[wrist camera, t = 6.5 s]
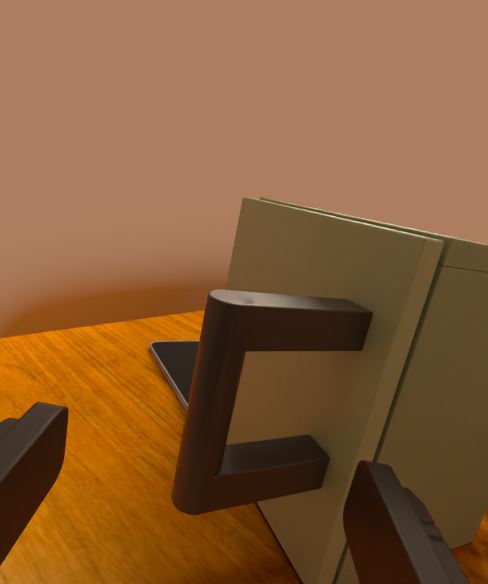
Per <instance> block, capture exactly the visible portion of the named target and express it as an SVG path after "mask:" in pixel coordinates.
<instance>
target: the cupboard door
mask: <svg viewBox="0 0 488 584" xmlns="http://www.w3.org/2000/svg"><path fill="white" fill-rule="evenodd" d="M443 246H444V242H443V241H442V240H438V239H434V238H429V237H425V236H420V235H416V234H411V233H407V232H402V231H398V230H394V229H389V228H385V227H380V226H376V225H371V224H367V223H362V222H358V221H353V220H349V219H344V218H340V217H335V216H331V215H326V214H322V213H317V212H313V211H308V210H304V209H300V208H295V207H291V206H286V205H282V204H277V203H273V202H268V201H264V200H259V199H254V198H250V197H243V200H242V205H241V211H240V216H239V221H238V226H237V231H236V236H235V242H234V247H233V252H232V257H231V262H230V268H229V273H228V278H227V283H226V288H225V290H213V291H210V292H209V293H208V298H207V304H206V308H205V314H204V319H203V325H202V330H201V336H200V341H199V347H198V352H197V358H196V363H195V369H194V374H193V380H192V385H191V391H190V396H189V402H188V407H187V413H186V418H185V424H184V429H183V435H182V440H181V445H180V451H179V456H178V462H177V467H176V473H175V478H174V484H173V489H172V496H171V497H172V502H173V504H174V506H175V507H176V508H177V509H178V510H180V511H181V512H183V513H185V514H189V515H199V514H202V513H207V512H212V511H217V510H221V509H226V508H231V507H236V506H240V505H245V504H250V503H255V502H257V504H258V506H259V507H260V509H261V511H262V513H263V514H264V516H265V518H266V520H267V521H268V523H269V525H270V527H271V528H272V530H273V532H274V534H275V535H276V537H277V539H278V541H279V542H280V544H281V546H282V548H283V549H284V551H285V553H286V555H287V556H288V558H289V560H290V561H291V563H292V565H293V567H294V568H295V570H296V572H297V574H298V575H299V577H300V579H301V581H302V582H303V584H332V582H333V579H334V576H335V573H336V570H337V567H338V564H339V561H340V558H341V555H342V552H343V549H344V546H345V543H346V540H347V539H346V535H345V532H344V527H343V510H344V505H345V502H346V498H347V495H348V492H349V489H350V486H351V483H352V480H353V477H354V474H355V470H356V467H357V465H358V463H359V462H360V461H361V460H365V461H370V462H372V461H373V458H374V455H375V452H376V449H377V446H378V443H379V440H380V437H381V434H382V431H383V428H384V425H385V421H386V418H387V415H388V412H389V409H390V406H391V403H392V400H393V397H394V394H395V391H396V388H397V385H398V382H399V379H400V376H401V373H402V370H403V367H404V364H405V361H406V358H407V355H408V352H409V349H410V346H411V343H412V340H413V337H414V334H415V331H416V327H417V324H418V321H419V318H420V315H421V312H422V309H423V306H424V303H425V300H426V297H427V294H428V291H429V288H430V285H431V282H432V279H433V276H434V273H435V270H436V267H437V264H438V261H439V258H440V255H441V252H442V249H443Z"/></svg>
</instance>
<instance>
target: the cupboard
mask: <svg viewBox="0 0 488 584" xmlns="http://www.w3.org/2000/svg"><path fill="white" fill-rule="evenodd" d="M260 200H264V201H268V202H273V203H277V204H282V205H286V206H291V207H295V208H300V209H304V210H308V211H313V212H317V213H322V214H326V215H331V216H335V217H340V218H344V219H349V220H353V221H358V222H362V223H367V224H371V225H376V226H380V227H385V228H389V229H394V230H398V231H402V232H407V233H411V234H416V235H420V236H425V237H429V238H434V239H438V240H442V241H443V242H444V246H443V249H442V252H441V255H440V258H439V261H438V264H437V267H436V270H435V273H434V276H433V279H432V282H431V285H430V288H429V291H428V294H427V297H426V300H425V303H424V306H423V309H422V312H421V315H420V318H419V321H418V324H417V327H416V331H415V334H414V337H413V340H412V343H411V346H410V349H409V352H408V355H407V358H406V361H405V364H404V367H403V370H402V373H401V376H400V379H399V382H398V385H397V388H396V391H395V394H394V397H393V400H392V403H391V406H390V409H389V412H388V415H387V418H386V421H385V425H384V428H383V431H382V434H381V437H380V440H379V443H378V446H377V449H376V452H375V455H374V458H373V461H372V462H376V463H382V464H387V465H390V466H391V467H392V469H393V471H394V473H395V474H396V476H397V478H398V480H399V482H400V484H401V486H402V487H405V488H409V489H410V490H411V491H412V492H413V493H414V494H415V495H416V497H417V498H418V499H419V500H420V501H421V502H422V503H423V504H424V505H425V506H426V508H427V510H428V512H429V513H430V515H431V517H432V519H433V520H434V522H435V526H437V527H438V529H439V531H440V533H441V534H442V536H443V540H444V542H446V543H447V545H448V546H449V548H450V550H451V549H454V548H456V547H459V546H462V545H464V544H467V543H470V542H472V541H473V539H474V537H475V535H476V533H477V530H478V527H479V526H480V523H481V521H482V519H483V517H484V514H485V512H486V510H487V507H488V244H484V243H479V242H474V241H469V240H464V239H460V238H455V237H450V236H446V235H441V234H436V233H431V232H426V231H422V230H416V229H411V228H407V227H402V226H398V225H393V224H388V223H383V222H379V221H374V220H369V219H364V218H359V217H354V216H349V215H345V214H340V213H335V212H330V211H325V210H320V209H315V208H310V207H305V206H301V205H295V204H291V203H286V202H281V201H276V200H271V199H266V198H262V197H261V198H260ZM332 584H360V583H359V580H358V576H357V573H356V569H355V566H354V563H353V559H352V556H351V552H350V549H349V546H348V542H347V540H346V543H345V546H344V549H343V552H342V555H341V558H340V561H339V564H338V567H337V570H336V573H335V576H334V579H333V582H332Z"/></svg>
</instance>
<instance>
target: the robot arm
mask: <svg viewBox="0 0 488 584" xmlns="http://www.w3.org/2000/svg"><path fill="white" fill-rule="evenodd" d="M67 424H68V408H67V407H64V406H58V405H53V404H47V403H41V402H37V403H35V404H34V405H33V406H32V407H31V408H30V409H29V410H28V411H27V412H26V413H25V414H24V415H23V416H22V417H21V418H20V419H14V418H8V419H6V420H4V421H2V422H0V565H1V564H2V562H3V561H4V559H5V558H6V556H7V555H8V553H9V552H10V550H11V549H12V547H13V546H14V544H15V542H16V541H17V539H18V538H19V536H20V535H21V533H22V532H23V530H24V529H25V527H26V526H27V524H28V523H29V521H30V520H31V518H32V517H33V515H34V513H35V512H36V510H37V509H38V507H39V506H40V504H41V503H42V501H43V500H44V498H45V497H46V495H47V494H48V492H49V491H50V489H51V488H52V486H53V484H54V483H55V481H56V479H57V478H58V475H59V473H60V470H61V468H62V464H63V461H64V455H65V445H66V434H67ZM343 527H344V532H345V535H346V539H347V542H348V546H349V549H350V552H351V556H352V559H353V563H354V566H355V569H356V573H357V576H358V580H359V583H360V584H470V583H469V581H468V579H467V578H466V576H465V574H464V572H463V571H462V569H461V567H460V566H459V564H458V562H457V560H456V559H455V557H454V555H453V553H452V552H451V550H450V548H449V546H448V545H447V543H446V542H444V540H443V536H442V534H441V533H440V531H439V529H438V527H437V526H435V522H434V520H433V519H432V517H431V515H430V513H429V512H428V510H427V508H426V506H425V505H424V504H423V503H422V502H421V501H420V500H419V499H418V498H417V497H416V495H415V494H414V493H413V492H412V491H411V490H410V489H409V488H405V487H402V486H401V484H400V482H399V480H398V478H397V476H396V474H395V473H394V471H393V469H392V467H391V466H390V465H387V464H382V463H376V462H370V461H365V460H361V461H360V462H359V463H358V465H357V467H356V470H355V474H354V477H353V480H352V483H351V486H350V489H349V492H348V495H347V498H346V502H345V505H344V510H343Z"/></svg>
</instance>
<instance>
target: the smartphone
mask: <svg viewBox="0 0 488 584" xmlns="http://www.w3.org/2000/svg"><path fill="white" fill-rule="evenodd" d="M198 347H199V341H156V342H152V343H151V344H150V352H151V354H152V355H153V357H154V359H155V361H156V362H157V364H158V366H159V367H160V369H161V371H162V372H163V374H164V376H165V378H166V379H167V381H168V383H169V384H170V386H171V388H172V389H173V391H174V393H175V395H176V396H177V399H178V400H179V402H180V404H181V405H182V407H183V409H184V410H185V412H186V413H187V407H188V402H189V396H190V391H191V385H192V380H193V374H194V369H195V363H196V358H197V352H198Z"/></svg>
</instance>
